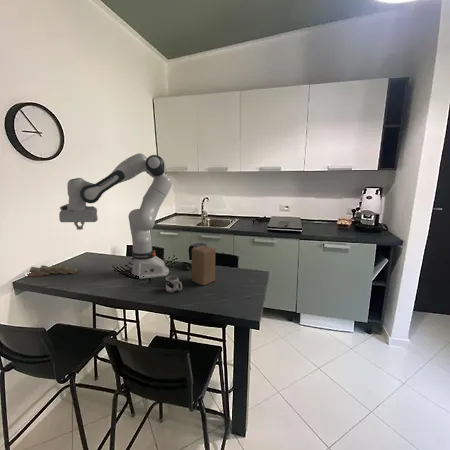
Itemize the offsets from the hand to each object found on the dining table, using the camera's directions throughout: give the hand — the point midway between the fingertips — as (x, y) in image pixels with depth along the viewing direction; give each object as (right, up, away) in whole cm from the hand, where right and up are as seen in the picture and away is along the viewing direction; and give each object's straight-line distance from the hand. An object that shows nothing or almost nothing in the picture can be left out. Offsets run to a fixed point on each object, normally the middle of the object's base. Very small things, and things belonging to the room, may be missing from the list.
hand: (79, 229), depth 165 cm
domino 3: (-15, -26, +4) cm, 30 cm away
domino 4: (-9, -26, +4) cm, 28 cm away
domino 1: (-22, -27, +2) cm, 35 cm away
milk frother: (+66, -25, +18) cm, 73 cm away
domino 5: (-4, -26, +5) cm, 27 cm away
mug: (+59, -33, -16) cm, 69 cm away
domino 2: (-19, -26, +2) cm, 32 cm away
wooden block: (+74, -30, -4) cm, 80 cm away
